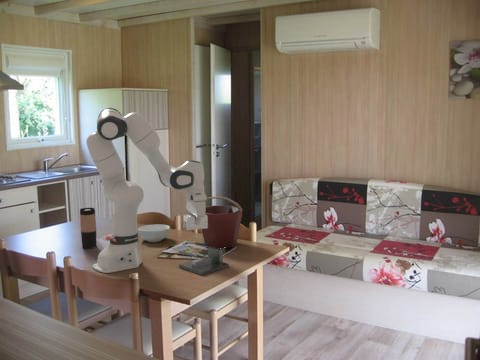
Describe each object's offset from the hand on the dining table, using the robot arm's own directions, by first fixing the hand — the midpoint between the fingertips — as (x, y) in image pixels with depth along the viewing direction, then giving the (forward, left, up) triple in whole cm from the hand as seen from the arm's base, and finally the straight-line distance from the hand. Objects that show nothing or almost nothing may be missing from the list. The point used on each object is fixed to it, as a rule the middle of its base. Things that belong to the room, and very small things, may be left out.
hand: (195, 222), depth 257 cm
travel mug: (-26, +55, -17) cm, 63 cm away
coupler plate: (-7, -14, -17) cm, 23 cm away
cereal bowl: (+5, +41, -17) cm, 45 cm away
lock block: (0, 0, -2) cm, 2 cm away
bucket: (+24, +9, -17) cm, 30 cm away
